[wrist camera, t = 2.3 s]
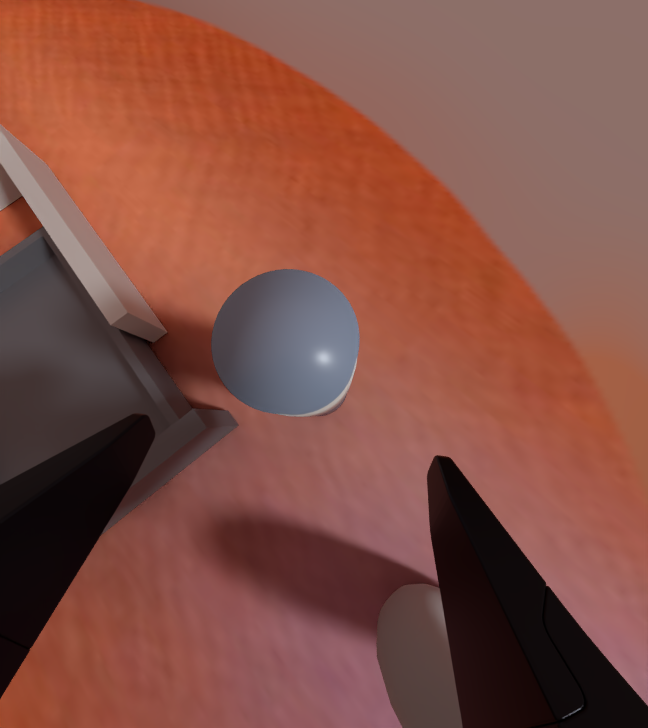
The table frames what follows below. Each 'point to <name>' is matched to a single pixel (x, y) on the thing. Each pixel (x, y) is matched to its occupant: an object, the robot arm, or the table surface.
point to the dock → (74, 238)
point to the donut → (417, 658)
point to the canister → (287, 344)
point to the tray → (83, 376)
